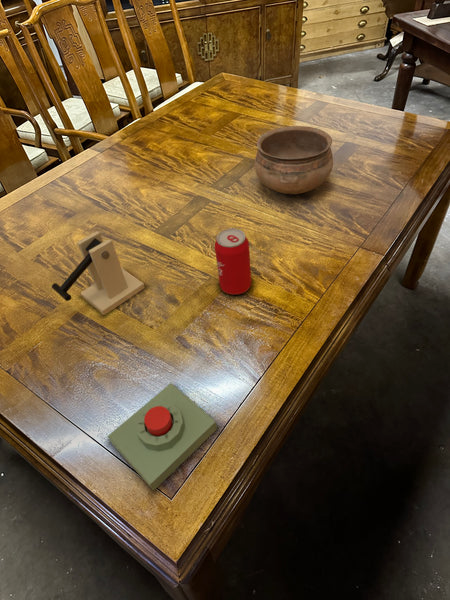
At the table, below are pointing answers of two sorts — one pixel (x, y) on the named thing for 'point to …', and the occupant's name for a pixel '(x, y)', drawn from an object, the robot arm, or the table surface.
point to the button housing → (163, 436)
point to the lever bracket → (107, 276)
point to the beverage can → (233, 261)
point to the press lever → (75, 273)
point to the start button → (158, 420)
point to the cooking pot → (294, 159)
